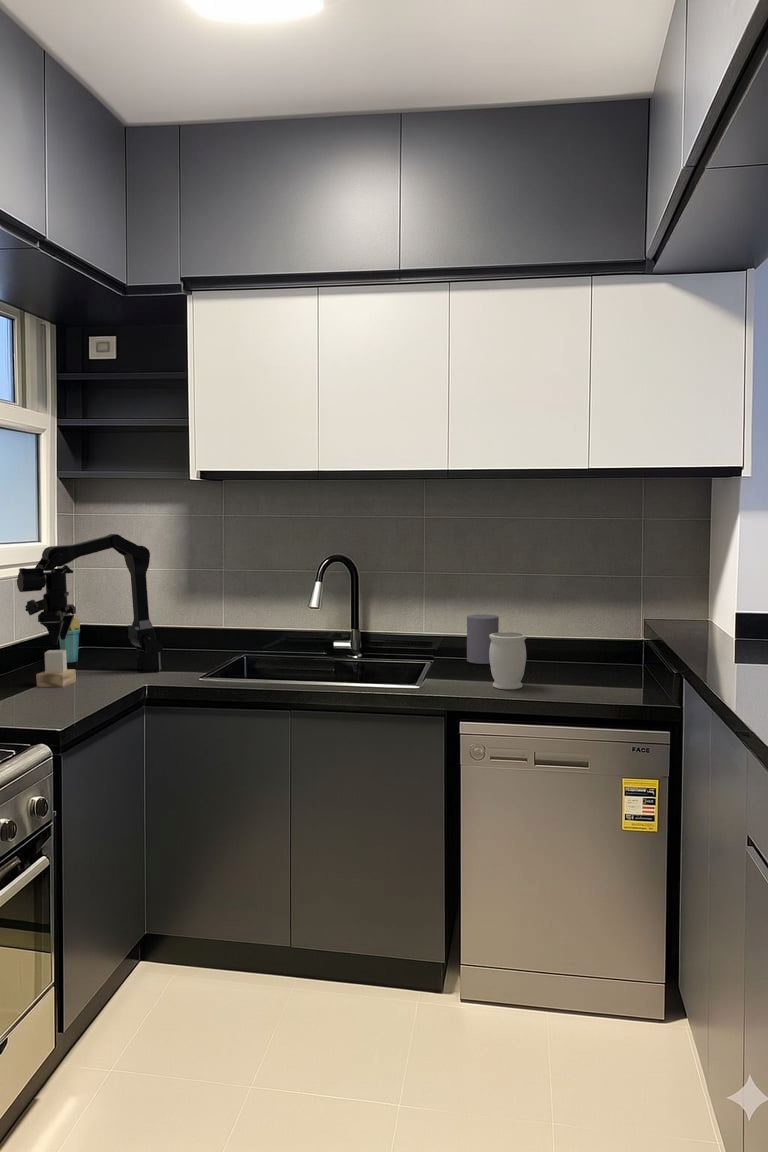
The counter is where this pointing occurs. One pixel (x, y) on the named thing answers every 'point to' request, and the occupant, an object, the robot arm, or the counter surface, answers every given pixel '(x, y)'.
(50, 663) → the ceramic cube
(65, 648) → the cup
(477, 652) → the container
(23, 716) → the counter surface
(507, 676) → the jar
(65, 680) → the oak block
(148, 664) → the robot arm
